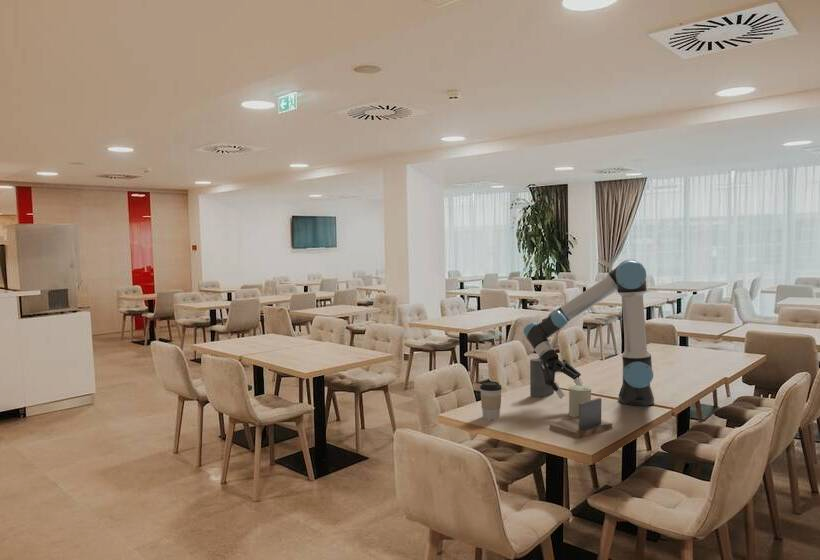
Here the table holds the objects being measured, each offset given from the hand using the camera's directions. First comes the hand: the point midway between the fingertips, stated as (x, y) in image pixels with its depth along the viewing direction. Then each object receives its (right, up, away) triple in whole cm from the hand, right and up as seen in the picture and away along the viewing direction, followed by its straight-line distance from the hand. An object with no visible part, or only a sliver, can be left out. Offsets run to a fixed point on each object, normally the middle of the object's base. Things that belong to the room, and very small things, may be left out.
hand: (573, 394), depth 245 cm
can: (+2, -9, -1) cm, 9 cm away
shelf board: (-3, -10, -19) cm, 22 cm away
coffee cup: (-35, -9, -3) cm, 37 cm away
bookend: (0, -8, -23) cm, 24 cm away
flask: (-6, -7, +32) cm, 33 cm away
